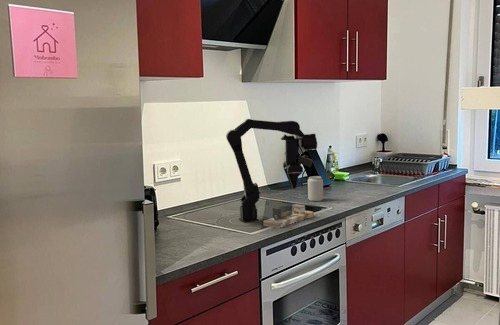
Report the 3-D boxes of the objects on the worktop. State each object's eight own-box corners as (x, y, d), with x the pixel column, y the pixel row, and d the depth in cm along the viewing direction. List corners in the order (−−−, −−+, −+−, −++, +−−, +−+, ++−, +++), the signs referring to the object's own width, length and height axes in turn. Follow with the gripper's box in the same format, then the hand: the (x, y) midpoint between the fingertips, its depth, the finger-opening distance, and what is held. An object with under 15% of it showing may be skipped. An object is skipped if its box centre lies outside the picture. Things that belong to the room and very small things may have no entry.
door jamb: (278, 228, 194) (278, 223, 193) (263, 225, 199) (263, 220, 199) (313, 216, 211) (313, 211, 211) (298, 214, 217) (298, 209, 216)
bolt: (278, 220, 197) (278, 208, 197) (272, 219, 199) (272, 208, 199) (293, 215, 205) (293, 204, 204) (287, 214, 207) (287, 203, 206)
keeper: (300, 214, 207) (300, 206, 207) (291, 213, 210) (291, 205, 210) (305, 213, 209) (304, 205, 209) (296, 211, 212) (295, 204, 212)
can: (325, 199, 247) (325, 175, 245) (319, 202, 240) (319, 178, 239) (311, 198, 251) (311, 175, 249) (305, 201, 244) (305, 177, 243)
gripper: (315, 151, 200) (315, 189, 202) (307, 148, 218) (307, 182, 220) (287, 152, 199) (288, 190, 201) (282, 148, 218) (283, 183, 220)
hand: (292, 186), depth 211 cm, fingers open, 9 cm apart
